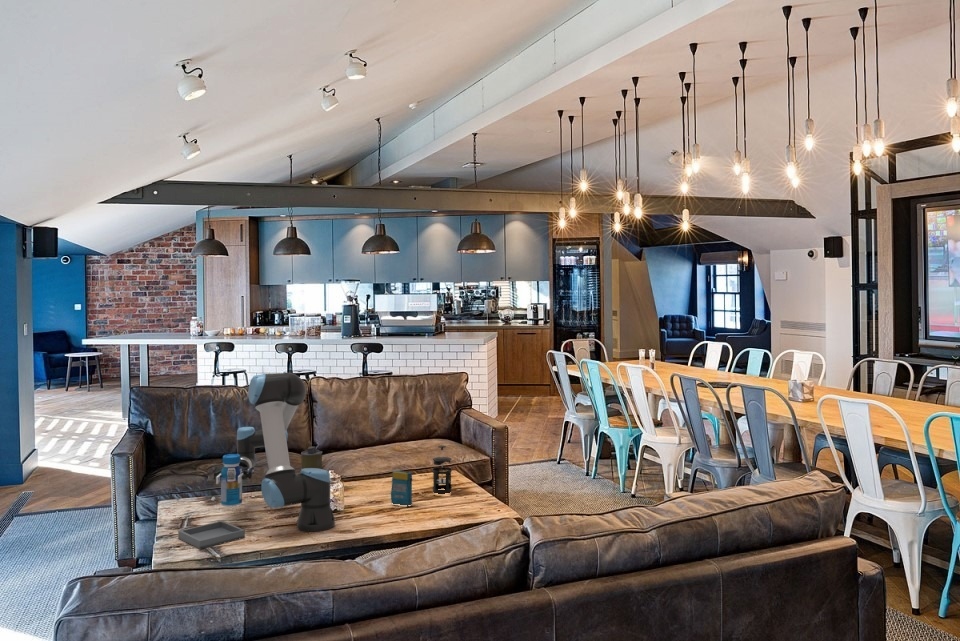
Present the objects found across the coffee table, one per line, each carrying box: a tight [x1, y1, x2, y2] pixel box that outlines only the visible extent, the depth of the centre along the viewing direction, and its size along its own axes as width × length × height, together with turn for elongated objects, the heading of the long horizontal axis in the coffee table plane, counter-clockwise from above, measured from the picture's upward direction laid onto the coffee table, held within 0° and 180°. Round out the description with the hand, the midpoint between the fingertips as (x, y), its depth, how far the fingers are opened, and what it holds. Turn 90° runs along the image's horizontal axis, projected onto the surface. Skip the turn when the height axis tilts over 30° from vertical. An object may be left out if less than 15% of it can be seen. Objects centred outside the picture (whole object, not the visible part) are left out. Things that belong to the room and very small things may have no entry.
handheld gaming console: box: [390, 470, 413, 506], centre depth 323 cm, size 10×4×15 cm, turn 65°
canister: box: [300, 446, 323, 469], centre depth 357 cm, size 11×10×20 cm
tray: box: [177, 520, 246, 550], centre depth 279 cm, size 18×18×3 cm
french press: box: [432, 445, 453, 494], centre depth 343 cm, size 12×9×23 cm
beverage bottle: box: [220, 453, 243, 508], centre depth 294 cm, size 8×8×20 cm
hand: (227, 480), depth 290 cm, fingers closed on beverage bottle, 8 cm apart
